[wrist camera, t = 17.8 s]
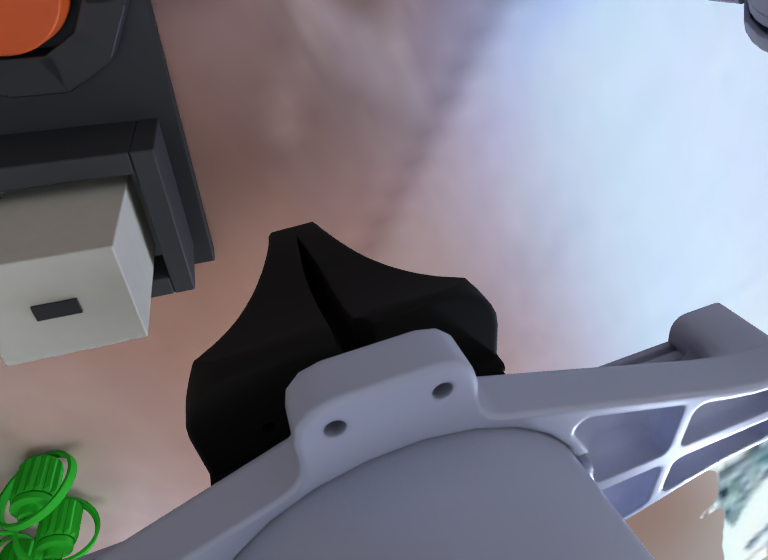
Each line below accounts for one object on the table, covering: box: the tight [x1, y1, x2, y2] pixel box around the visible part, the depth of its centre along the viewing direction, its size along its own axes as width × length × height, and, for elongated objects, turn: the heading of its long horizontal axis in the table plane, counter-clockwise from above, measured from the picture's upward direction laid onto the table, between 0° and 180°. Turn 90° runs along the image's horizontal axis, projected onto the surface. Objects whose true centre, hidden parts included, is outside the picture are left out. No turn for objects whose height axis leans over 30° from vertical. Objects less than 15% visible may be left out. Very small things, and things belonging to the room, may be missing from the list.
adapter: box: [0, 0, 215, 264], centre depth 18 cm, size 8×16×3 cm, turn 1°
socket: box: [0, 118, 195, 297], centre depth 19 cm, size 6×6×5 cm
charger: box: [0, 174, 155, 366], centre depth 17 cm, size 4×3×6 cm
